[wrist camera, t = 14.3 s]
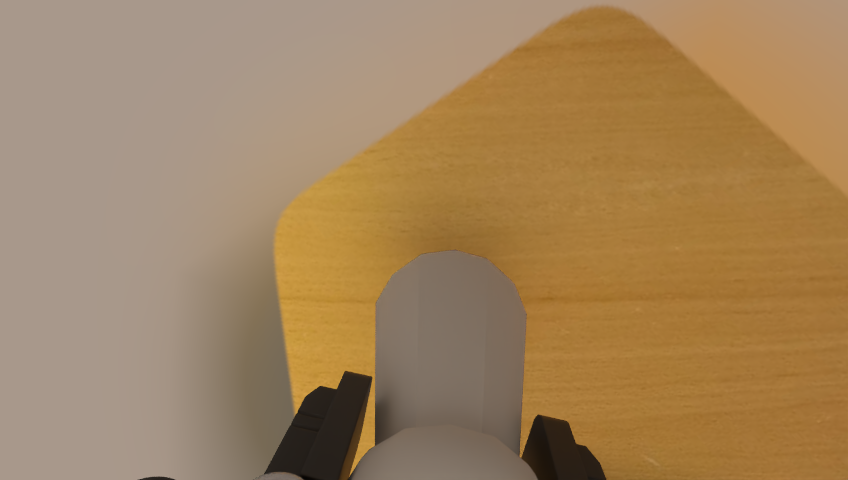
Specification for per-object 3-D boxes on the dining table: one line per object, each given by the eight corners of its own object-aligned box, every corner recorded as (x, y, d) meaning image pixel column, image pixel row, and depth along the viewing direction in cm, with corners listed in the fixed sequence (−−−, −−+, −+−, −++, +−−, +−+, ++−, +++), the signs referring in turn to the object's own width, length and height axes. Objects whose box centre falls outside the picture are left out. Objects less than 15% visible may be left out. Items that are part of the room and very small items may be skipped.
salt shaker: (358, 300, 20) (193, 610, 8) (444, 206, 19) (418, 397, 6) (455, 381, 21) (452, 783, 8) (546, 296, 19) (705, 630, 7)
